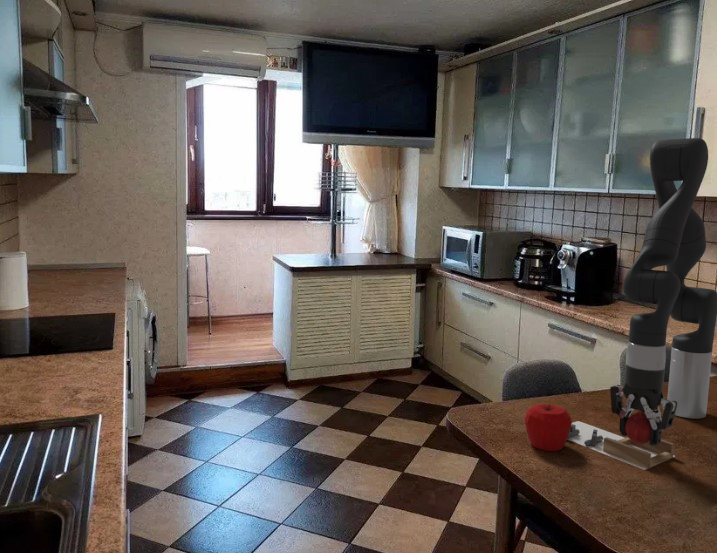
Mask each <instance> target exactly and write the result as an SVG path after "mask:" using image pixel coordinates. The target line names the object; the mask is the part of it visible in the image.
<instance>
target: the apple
mask: <svg viewBox="0 0 717 553" xmlns="http://www.w3.org/2000/svg"><path fill="white" fill-rule="evenodd" d="M524 422H525V423H524V424H525V429H526V433H527V436H528V439H529V442H530V444H531V445H532V447H534V448H537V449H538V450H541V451H546V452H557V451H560V450H562V449H563V448H564V447H565V445H566V442H567V441H568V440H567V438H568V435H569V432H570V428H571V424H572V423H573V422H572V418H571V413H569V412H568V410H566V409H565V408H564V407H561V406H559V405H555V404H551V403H549V404H548V403H546V404H545V403H537V404H533V406H531V407H530V408H528V409H527V411H526V414H525V416H524Z"/></svg>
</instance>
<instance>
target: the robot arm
mask: <svg viewBox="0 0 717 553" xmlns="http://www.w3.org/2000/svg"><path fill="white" fill-rule="evenodd" d="M708 162H709V149H708V144H707V142H706V140H705V139H703V138H701V137H700V138H699V137H688V138H687V137H686V138H673V139H661V140H658V141H655V142H654V143H653V144H652V146H651V147H650V151H649V166H650V174H651V178H652V183H653V188H654V192H655V196H656V200H657V205H658V210H657V211H656V212H655V213H654V215H652V217H651V219H650V220H649V222H648V224H647V227H646V229H645V234H644V238H643V240H642V245H641V249H640V251H639V252H638V255H637V257H636V259H635V260H634V262H633V264H632V265H631V266H630V268H629V270H628V271H627V273H626V275H625V276H624V278H623V279H624V280H623V283H622V291H623V295H624V296H625V298H626V299H627V300H628V301H631V302H634V303H642V304H653V305H657V307H656V309H655V311H653V312H648V313H647V312H643V313H635V314H634V315H632V316H631V318H630V321H629V329H628V330H629V331H628V341H627V342H628V343H627V348H626V352H625V367H624V381H623V382H624V385H623V386H621V384H616V385H612V386H610V389H609V391H610V392H609V393H610V405H611V413H613V414H615V415H617V416H618V417H619V427H618V428H619V429H618V430H619V432H620V436H622V437H627V433H626V431H625V424H626V422H627V420H628V419H629V417H630V416H632V415H631V414H632V413H633V412H634V411H636V410H637V411H639V410H640V411H642V412H644V413H645V414H646V416H647V418H648V419H649V421H650V424H651V427H652V429H651V432H650V445H651V446H656V445H658V444H659V443H660V442H661V439H662V433H663V432H662V431H664V430H667V429H670V428H672V427H673V423H674V419H675V417H676V416H678V417H681V418H686V419H695V420H696V419H704V418H706V417H707V411H708V409H707V408H708V401H709V400H708V399H709V390H710V389H709V388H710V377H711V368H712V356H713V349H714V348H713V347H714V346H713V345H714V340H715V332H716V331H715V329H716V326H717V325H716V323H717V291H716V290H715V289H711V288H704V287H694V286H687V285H686V284H685V279H686V277H687V276H688V275H689V273H690V272H691V270H692V269H693V268H694V267H695V266H696V265H697V264H698V262H699V261H700V260H701V258H702V257H703V256H704V254H705V251H706V250H707V241H706V240H707V238H706V228H705V223H704V221H703V219H702V217H701V216H700V215H699V214H698V213H697V211H696V210H695V209H694V208H693V205H694V202H695V200H696V198H697V196H698V193H699V190H700V187H701V185H702V182H703V181H704V177H705V174H706V172H707V169H708V168H707V167H708V164H709V163H708ZM675 182H681V185H680V186H679V187H678V189H677V188H676V185H675ZM665 266H666V270H659V269H655V268H658V267H665ZM670 317H671V318H672V319H673V320H675V321H677V322H682V323H689V324H697V325H698V328H697V329H695V330H694V331H691V332H687V333H680V334H679V333H678V334H676V335H674V336H673V337H672V340H671V351H670V364H669V375H668V389H667V398H665V396H664V394H663V389H664V383H665V370H666V369H665V368H666V362H667V361H666V357H667V352H666V351H667V350H666V342H667V332H668V331H667V330H668V324H669V320H670ZM623 395H624V397H625V400H626V401H625V402H624V404H623ZM660 405H662V410H663V413H662V412H661V409H660V407H659V406H660ZM661 416H662V417H661Z"/></svg>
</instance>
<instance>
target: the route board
mask: <svg viewBox="0 0 717 553" xmlns="http://www.w3.org/2000/svg"><path fill="white" fill-rule="evenodd" d="M606 437H608V438H611V439H613V440H616V441H618V440H621V439H623V438H625V436H622V435H618V434H615V433H613V432H610V431H609V430H604V429H602V428H599V427H597V426H594V425H590V424H588V423H585V422H582V421H579V420H578V421H577V420H576V421H574V422H572V424H571V428H570V432H569V435H568V438H567V440H566V441H570V442H573V443H574V444H578V445H580V446H583V447H586V448H588V449H590V450H592V451H595V452H598V453H600V454H603V455H606V456H609V457H610V458H613V459H616V460H618V461H621V462H622V463H625V464H629V465H631V466H632V467H633V466H634V467H635V468H638V469H641V470H643V471H646V470H649V468H644V467H642V466H639V465H637V464H634V463H632V462H629V461H627V460H624V459H621V458H619V457H616V456H614V455H611V454H609V453H606V452H604V451H603V446H604V438H606ZM629 446H632V447H635V448H638V449H640V450H643V451H646V452H648V453H651V458H652V457H654V456H656V455H659V454H658V453H655V452H652V451H649V450H647V449H644V448H641V447H639V446H636V445H633V444H629ZM675 457H676V455H674V454H673V457H672V458H675ZM672 458H671V459H672ZM666 461H667V460H665V461H663V462H662V463H664V462H666ZM654 466H658V464H656V465H654ZM654 466H653V467H654Z"/></svg>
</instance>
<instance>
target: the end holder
mask: <svg viewBox="0 0 717 553" xmlns="http://www.w3.org/2000/svg"><path fill="white" fill-rule="evenodd" d="M629 444H633V445H636V444H635V443H634V442H633V441H632V440H631V439H630V438H629V437H628V436H625V437H624V438H623V439H621V440H618V441H616V440H613V439H611V438H608V437H606V438H604V446H603V451H604V452H606V453H609V454H611V455H614V456H616V457H619V458H621V459H624V460H627V461H629V462H632V463H634V464H637V465H639V466H642V467H644V468H648V469H651V468H652V467H654V465H655V466H657V465H659V464H662V463H664V462H666V461H668V460H670V459H672V457H673V455H674V451H675V449H674V448H675V443H673V442H671V441H669V440H668V441H667V440H664V439H662V438H661V442H660V443H659V444H658V445H656V446H651V445H650V441H648V442H647V443H644V444H642V445H636V446H639V447H641V448H644V449H647V450H649V451H652V452H655V453H658V454H659V455H656V456H654V457H652V458H651V453H648V452H646V451H643V450H640V449H638V448H635V447H632V446H629ZM673 458H674V457H673ZM665 460H666V461H665ZM663 461H664V462H663ZM656 464H657V465H656Z"/></svg>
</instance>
